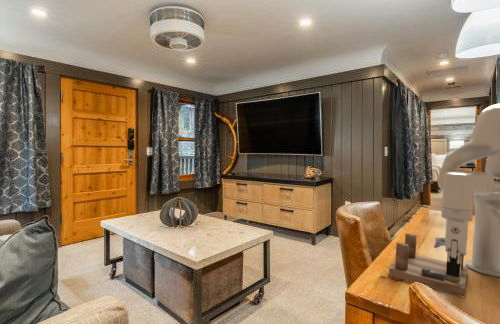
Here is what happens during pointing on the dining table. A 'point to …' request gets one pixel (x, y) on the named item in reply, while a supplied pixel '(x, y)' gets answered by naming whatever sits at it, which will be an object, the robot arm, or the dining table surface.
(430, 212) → the dining table surface
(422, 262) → the stool
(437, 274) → the hinged leg
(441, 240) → the driftwood
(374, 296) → the dining table surface
